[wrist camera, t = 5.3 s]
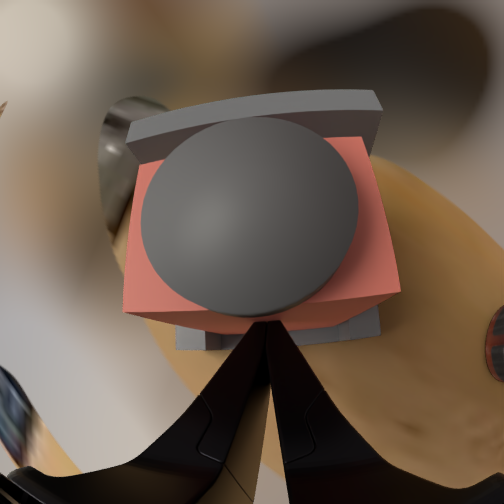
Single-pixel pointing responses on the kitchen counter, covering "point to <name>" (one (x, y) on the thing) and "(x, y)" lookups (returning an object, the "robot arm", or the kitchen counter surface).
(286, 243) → the pink block with dome
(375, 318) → the housing
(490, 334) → the supplement bottle
